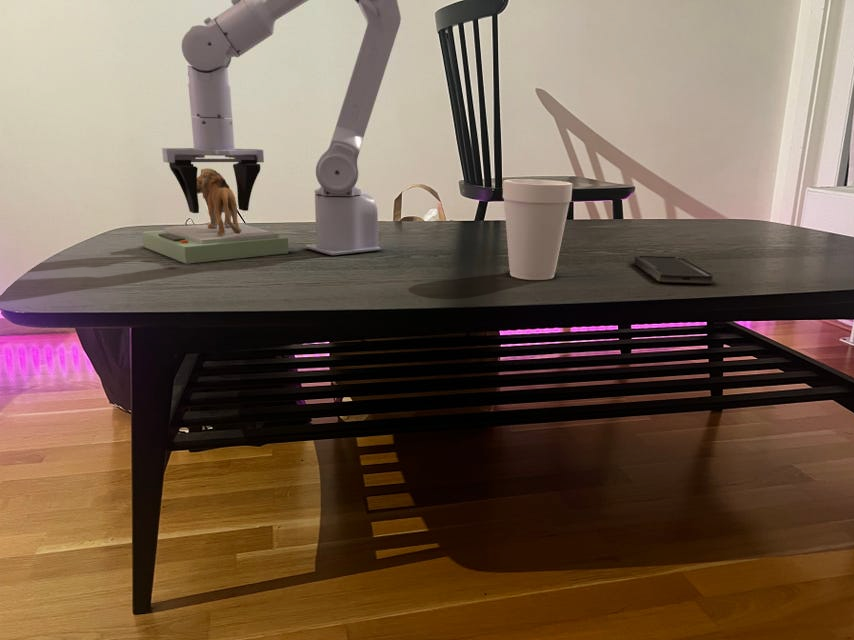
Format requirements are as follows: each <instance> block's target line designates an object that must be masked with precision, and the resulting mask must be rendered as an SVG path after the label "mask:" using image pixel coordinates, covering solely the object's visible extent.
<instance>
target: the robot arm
mask: <svg viewBox="0 0 854 640" xmlns="http://www.w3.org/2000/svg"><path fill="white" fill-rule="evenodd" d="M308 1H309V0H231V4H232V5H231V7H228V8H227V9H226V10H224V11H222V12H221V13H219V14H218V15H217V16H215V17H214V18H211V17H210V16H208V17H206V18H205V19H204V20H203V23H204V25H200V24H199V25H193V26H191V27H190V29H189V30H188V31H187V32H186V33H185V34H184V36H183V37H182V40H181V52H182V54H183V57H184V59H185V61H186V62H187V63H188V64H189V65H187V76H188V95H189V107H190V108H189V110H190V117H191V118H190V119H191V131H192V141H193V142H192V143H193V147H176V148H175V147H173V148H171V147H170V148H169V147H165V148H163V147H162V148H161V150H162V152H161V153H162V160H163V163H166V164H168V166H169V169H170V171H171V173H172V174H173V175H174V176H175V179H176V180H177V182H178V185H179V186H180V189H181V190H182V192H183V195H184V198H185V201H186V204H187V207H188V211H189V213H193V214H199V213H200V205H199V203H200V202H199V197H198V195H199V194H197V178H198V167H197V166H195V165H194V163H233V164H232V168H233V172H234V177H235V181H236V182H235V183H236V188H237V189H236V191H237V192H236V193H237V208H238V210H240V211H242V212H247V211H249V206H250V200H251V195H252V192H253V189H254V185H255V183H256V180H257V178H258V176H259V174H260V172H261V163H265V158H264V156H265V155H264V154H265V153H264V149H259V148H235V137H234V136H235V135H234V123H233V122H234V120H233V110H232V97H231V96H232V95H231V94H232V93H231V85H230V84H229V69H228V68H229V67H230V64H231V62H232V58H240V57H241V56H243V55H244V54H245V53H247V52H249V51H250V50H252V49H253V48H255V47H256V46H257V45H259V44H260V43H262V42H264V41H265V40H267V39H268V38H269V37H271V36H273V34H274V30H275V23H276V21H277V20H278V19H280V18H282V17H284V16H285V15H287V14H289V13H290V12H292V11H293V10H295V9H296V8H297V9H298V8H299V7H300V6H301V5H303V4H305V3H306V2H308ZM354 1H355V3H357V4H358V7H359V10H360V12H361V13H362V15H363V17H364V19H365V21H366V28H365V31H364V35H363V38H362V41H361V43H360V47H359V51H358V53H357V57H356V60H355V63H354V67H353V70H352V73H351V76H350V79H349V83H348V86H347V89H346V92H345V96H344V99H343V102H342V105H341V109H340V111H339V115H338V117H337V121H336V125H335V128H334V131H333V134H332V137H331V140H330V143H329V147H328V149H327V150H326V151H325V152H323V154H322V155H321V156H320V158H319V159H318V161H317V163H316V166H315V176H316V179H317V182H318V184H319V185H320V187H318V188H316V189H314V213H315V238H316V239H315V240H316V241H315V242H316V244H314V243H313V244H306V245H305V249H307V250H311V251H315V252H318V253H322V254H326V255H329V256H339V255H340V256H341V255H347V254H357V253H366V252H376V251H381V250H382V247H381V246H379V225H378V224H379V223H378V222H379V219H378V216H379V213H378V207H377V203H376V201H375V199H374V198H373V196H372V195H370V194H368V193H362V190H361V189H359V188H358V187H357V186H356V184H357V182H358V180H359V167H358V159H359V155H360V152H361V149H362V144H363V141H364V137H365V135H366V131H367V128H368V125H369V121H370V119H371V116H372V112H373V109H374V106H375V103H376V101H377V98H378V95H379V91H380V88H381V85H382V82H383V79H384V75H385V72H386V69H387V66H388V63H389V60H390V57H391V53H392V51H393V48H394V45H395V42H396V38H397V35H398V32H399V28H400V26H401V21H402V17H401V11H400V8H399V4H398V0H354ZM206 156H208V157H209V156H211V157H212V156H213V157H214V156H215V157H225V158H205V157H206Z"/></svg>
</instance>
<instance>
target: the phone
mask: <svg viewBox="0 0 854 640" xmlns="http://www.w3.org/2000/svg"><path fill="white" fill-rule="evenodd" d="M633 263H634V265H635V266H637V267H638V268H640V269H641V271H644V272H645V273H646V274H648V275H649V276H651V278H653V279H654V280H656V281H657V282H660V283H665V284H698V285H699V284H700V285H701V284H702V285H710V284H712V283H713V279H714V278H713V277H714V275H713V274H712V273H710V272H708V271H707V270H705V269H704V268H701V267H699V266H697V265H696V264H694V263H692V262H690V261H689V260H687V259H685V258H684V257H680V256H661V255H659V256H656V255H635V256H634V262H633Z"/></svg>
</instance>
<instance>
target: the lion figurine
mask: <svg viewBox="0 0 854 640" xmlns="http://www.w3.org/2000/svg"><path fill="white" fill-rule="evenodd" d="M199 194H202V198H203V199H204V201H205V203H206V205H207V211H208V212H207V213H208V215H209V220H210V223H209V224H210V225H208V228H217V225H218V226H219V231H218V232H217V235H225V229H224V225H225V227H231V228H232V230H233V231H234V233H236V234H240V232H242V229H240V228H239V225H238V223H239V222H238V203H237V200H236V196H235V193H234V192H233V190H232V189H231V188H230V185H229V184H228V183H227V181H226V179H225V178H224V176H222V174H221V173H219V172H217V171H216V169H215V170H214V169H213V168H208V167H207V168H201V169H200V175H198V176H197V195H199ZM223 213H224V221H223V218H222V214H223ZM232 223H233V224H232Z"/></svg>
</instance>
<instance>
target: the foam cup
mask: <svg viewBox="0 0 854 640" xmlns="http://www.w3.org/2000/svg"><path fill="white" fill-rule="evenodd" d="M502 181H503V182H502V199H503V205H504V216H505V217H504V218H505V231H506V243H507V255H508V269H509V275H510V276H511V277H513V278H515V279H520V280H529V281H545V280H551V279H553V278H554V277H555V274H556V270H557V265H558V260H559V255H560V252H561V251H560V250H561V245H562V242H563V241H562V240H563V236H564V231H565V226H566V221H567V216H568V212H569V207H570V203H571V202H572V196H573V183H572V182H569V181H561V180H549V179H531V178H513V179H511V178H510V179H504V180H502Z"/></svg>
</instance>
